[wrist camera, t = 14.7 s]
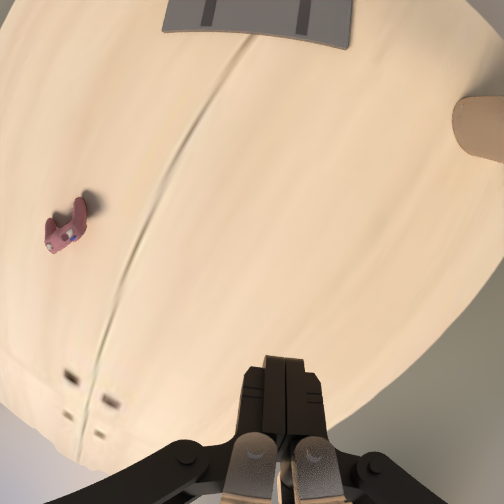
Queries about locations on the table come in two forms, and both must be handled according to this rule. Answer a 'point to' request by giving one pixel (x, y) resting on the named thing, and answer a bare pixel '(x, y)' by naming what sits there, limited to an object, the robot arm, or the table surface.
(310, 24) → the switch panel
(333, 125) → the table surface
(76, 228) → the video game controller
